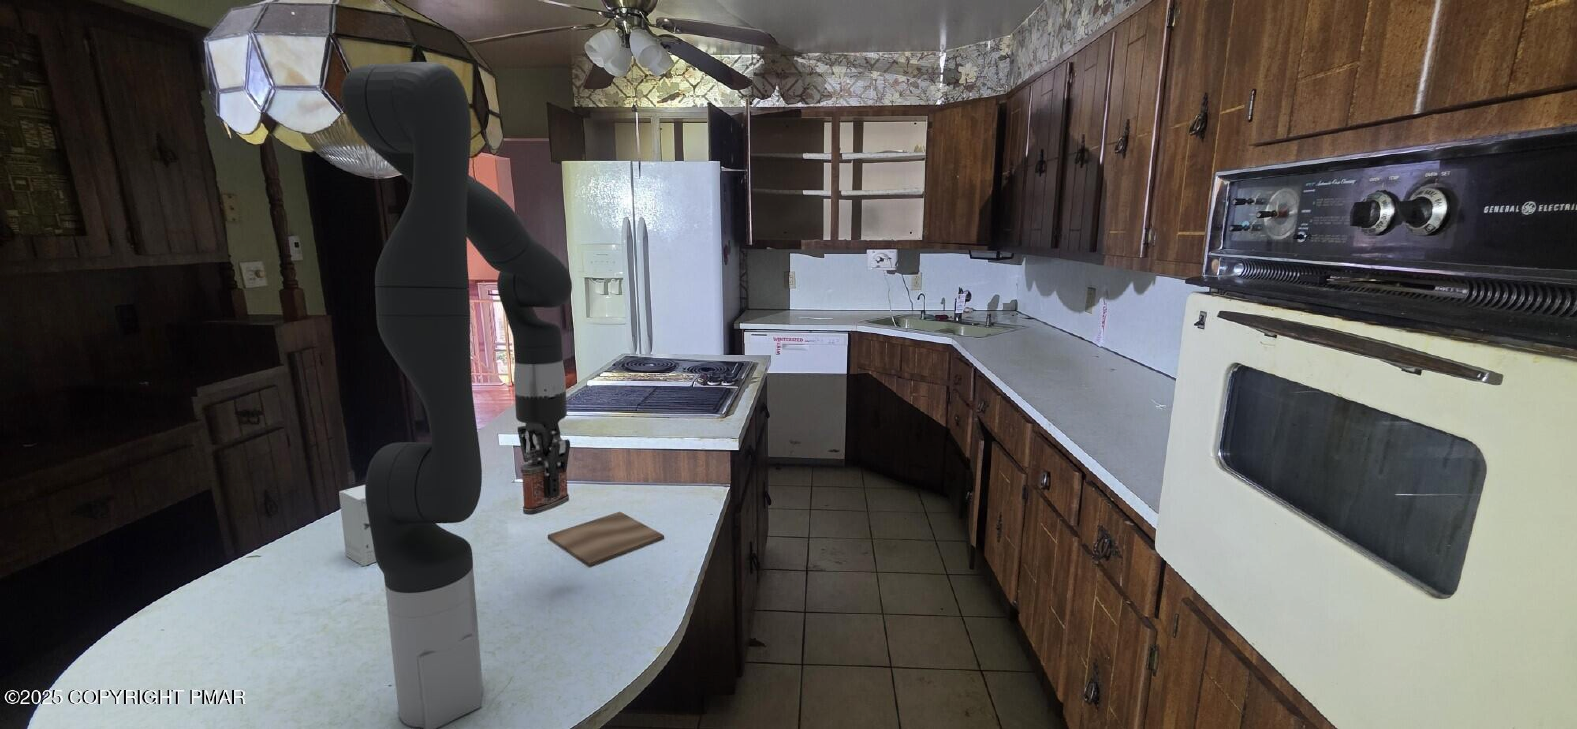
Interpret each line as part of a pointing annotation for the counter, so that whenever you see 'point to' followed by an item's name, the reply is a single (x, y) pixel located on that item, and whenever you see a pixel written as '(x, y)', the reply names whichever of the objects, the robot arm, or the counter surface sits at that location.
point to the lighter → (539, 486)
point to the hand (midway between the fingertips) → (545, 492)
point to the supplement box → (356, 526)
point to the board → (605, 538)
